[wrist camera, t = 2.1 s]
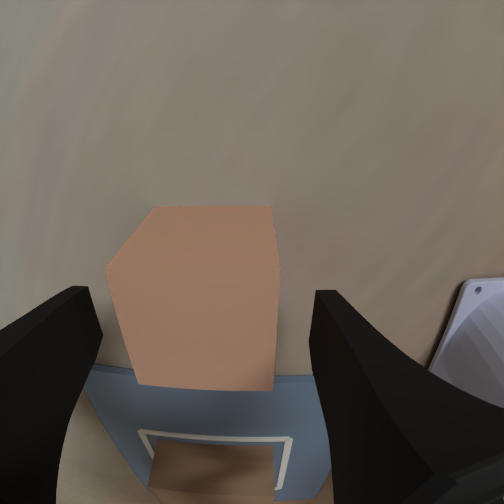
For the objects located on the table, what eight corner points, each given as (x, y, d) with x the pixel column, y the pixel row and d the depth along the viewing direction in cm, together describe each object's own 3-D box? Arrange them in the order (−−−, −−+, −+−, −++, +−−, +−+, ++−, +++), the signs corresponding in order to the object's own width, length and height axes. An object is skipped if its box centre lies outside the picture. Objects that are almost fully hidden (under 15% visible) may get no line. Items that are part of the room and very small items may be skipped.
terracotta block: (270, 205, 12) (280, 270, 8) (267, 303, 14) (273, 390, 10) (155, 206, 12) (104, 268, 8) (168, 301, 14) (138, 384, 10)
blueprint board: (368, 371, 16) (370, 378, 16) (315, 494, 25) (315, 498, 24) (75, 361, 16) (71, 368, 16) (149, 487, 25) (148, 492, 25)
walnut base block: (273, 445, 19) (274, 495, 15) (268, 484, 22) (268, 523, 19) (157, 439, 19) (147, 486, 15) (177, 480, 22) (172, 517, 19)
